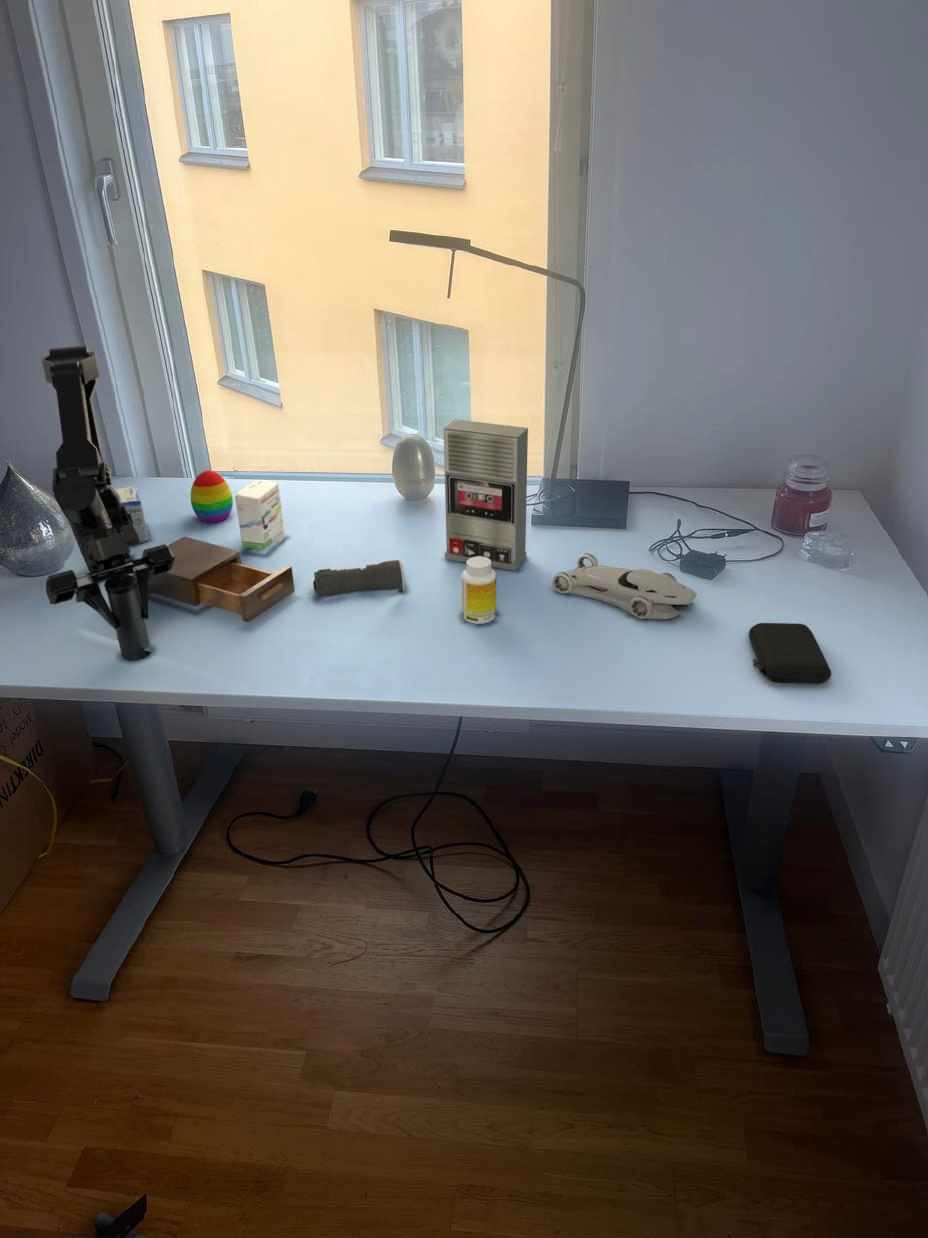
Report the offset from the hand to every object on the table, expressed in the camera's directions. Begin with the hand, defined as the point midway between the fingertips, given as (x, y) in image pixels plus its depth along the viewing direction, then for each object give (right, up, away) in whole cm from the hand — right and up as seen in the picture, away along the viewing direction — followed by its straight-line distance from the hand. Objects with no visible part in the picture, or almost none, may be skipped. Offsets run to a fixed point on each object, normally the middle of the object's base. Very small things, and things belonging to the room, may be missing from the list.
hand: (131, 623), depth 142 cm
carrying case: (+99, -6, 0) cm, 99 cm away
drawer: (+13, +3, +17) cm, 21 cm away
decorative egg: (0, +21, +49) cm, 53 cm away
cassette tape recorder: (+54, +11, +30) cm, 63 cm away
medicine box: (-14, +17, +42) cm, 47 cm away
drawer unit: (+3, +6, +22) cm, 23 cm away
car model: (+78, +4, +18) cm, 80 cm away
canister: (-1, -5, +4) cm, 6 cm away
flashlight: (+33, +5, +20) cm, 39 cm away
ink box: (+12, +15, +37) cm, 42 cm away
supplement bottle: (+53, +1, +12) cm, 54 cm away
